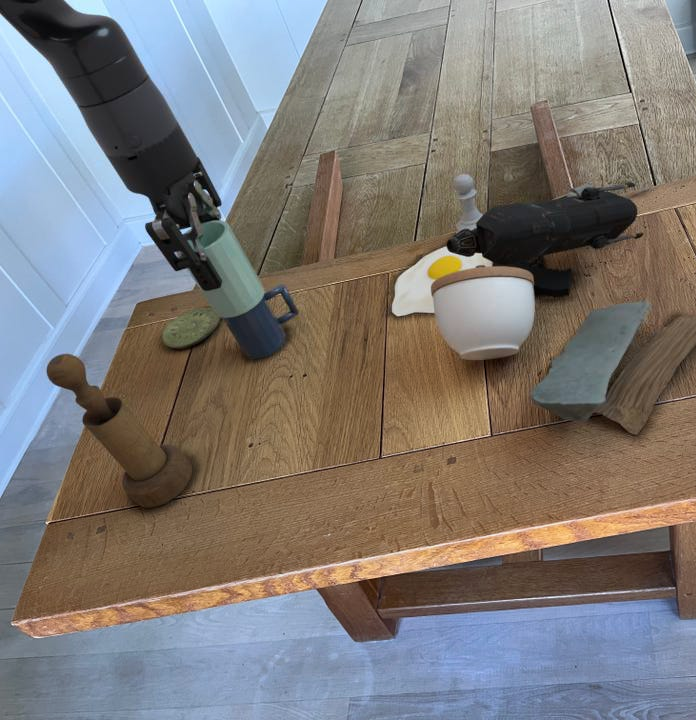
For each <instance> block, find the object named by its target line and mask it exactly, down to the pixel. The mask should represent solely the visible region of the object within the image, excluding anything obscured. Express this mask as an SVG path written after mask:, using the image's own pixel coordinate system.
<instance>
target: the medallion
mask: <svg viewBox="0 0 696 720" xmlns="http://www.w3.org/2000/svg"><path fill="white" fill-rule="evenodd" d="M221 319H222V317H219V316H218V315H216V314H215V312H214V311H213V309H212V308H211V307H199V308H194V309H191V310H189V311H187V312H184V313H182V314H180V315H178V316H176V317H175V318H174V319H172V320H171V321H170V322H169V323H168V324H166V326H165V327H164V328H163V329H162V332H161V340H162V342H163V344H164V345H165V346H166V347H168V348H170V349H173V350H180V349H181V350H182V349H186V348H190V347H193V346H195V345H197V344H199V343H201V342H202V341H204V340H205V339H207V338H208V337H209V336H210V335H212V333H213V332H214V331H215V330H216V329H217V327H218V326H219V324H220V322H221Z"/></svg>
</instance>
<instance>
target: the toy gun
mask: <svg viewBox="0 0 696 720" xmlns="http://www.w3.org/2000/svg"><path fill="white" fill-rule="evenodd" d="M492 263H493V264H492V267H493V266H504V265H501V264H497V263H494V262H492ZM505 266H506V267H515V268H521V269H524V270H527V271H529V272H530V273H531V274H532V275H533V278H534V287H533V288H534V295H535V294H538V295H542V296H547V297H552V298H564V297H567V296H568V297H569V296H570V293H571V288H572V287H571V286H572V280H573V272H572V268H567V269H559V268H554V269H553V268H546V267H544V256H539V257H537V258H533V259H532V260H530V261H523V262H518V263H514V264H509V265H505Z"/></svg>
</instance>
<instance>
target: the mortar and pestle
mask: <svg viewBox="0 0 696 720" xmlns="http://www.w3.org/2000/svg"><path fill="white" fill-rule="evenodd" d="M47 363H48V364H47V365H46V376H47V378H48V380H49V381H50V382H51V383H52V384H53V385H54V386H56V387H59V388H61V389H65V390H69V391H72V392H73V393H74V395H75V403H76V404H77V405H78V406H80V408H82V409H84V410H85V412H84V414H83V416H82V418H81V420H82V421H81V422H82V424H83V425H84V427H85V428H86V429H87V430H88V431H89V432H90V433H91V434H92V435H93V437H95V439H96V440H97V441H98V442H99V443H100V445H102V446H103V447H104V448H105V450H106V451H107V452H108V453H109V454H110V455H111V456H112V458H113V459H114V460H115V461H116V462H117V463H118V464H119V466H121V468H122V469H123V471H124V472H123V474H122V479H121V485H122V489H123V490H124V492H125V493H126V494H127V495H128V496H129V497H130V498H131V500H132V501H134V503H135V504H136V505H138V506H139V507H143V508H148V509H149V508H151V509H152V508H156V507H159V506H162V505H165V504H167V503H169V502H170V501H172V500H174V499H175V498H177V497H178V496H179V495H180V494H182V492H183V491H184V490H185V489H186V487H187V486H188V484H189V482H190V480H191V478H192V474H193V466H192V464H191V461H190V460H189V459H188V458H187V456H186V455H185V454H184V452H182V450H181V449H180V448H179V447H178V446H176V445H173V444H159V443H158V442H157V441H156V440H155V438H153V437H152V435H151V434H150V432H149V431H148V430H147V429H146V428H145V426H144V425H143V424H142V423H141V421H140V420H139V419H138V417H136V416H135V414H134V413H133V412H132V410H131V409H130V408H129V407H128V405H127V404H126V403H125V402H124V400H123V399H122V398H120V397H118V396H108V397H105V396H104V393H103V392H102V389H101V388H100V387H99V386H98V385H90V384H89V382H88V381H87V371H86V366H85V363H84V362H83V360H81V359H80V357H78V356H76V355H74V354H71V353H61V354H58V355H56V356H54V357H53V358H51V359H50V360H49V362H47Z"/></svg>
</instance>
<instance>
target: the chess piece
mask: <svg viewBox="0 0 696 720" xmlns="http://www.w3.org/2000/svg"><path fill="white" fill-rule="evenodd" d="M452 185H453V188H454V190H455V191H456V193H455V195H454V198H456V199H457V200H459V205H460V206H461V217H460V219H459V220H458V221H457V223H456V224H455V228H456V234H457V233H458V232H460V231H461V230H463V229H469V230H473V229H475V228H477V227H476V222H477V221H478V220H479V219H480V218H481V217H482V216H483V215H484V214H482V213H481V212H480V211H479V210H478V207H477V205H476V199H475V196H476V195H477V193H478V192H477V190H476V189H475V188H473V187H474V179H473V178H472V176H471V175H470V174H467V173H461V174H458V175H457V176H455V177H454V179H453V183H452ZM456 234H455V235H456Z"/></svg>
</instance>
